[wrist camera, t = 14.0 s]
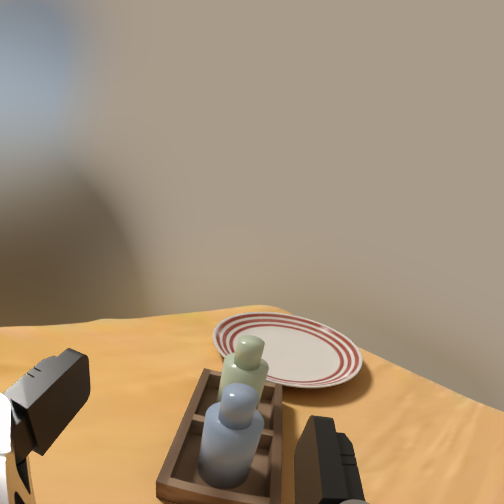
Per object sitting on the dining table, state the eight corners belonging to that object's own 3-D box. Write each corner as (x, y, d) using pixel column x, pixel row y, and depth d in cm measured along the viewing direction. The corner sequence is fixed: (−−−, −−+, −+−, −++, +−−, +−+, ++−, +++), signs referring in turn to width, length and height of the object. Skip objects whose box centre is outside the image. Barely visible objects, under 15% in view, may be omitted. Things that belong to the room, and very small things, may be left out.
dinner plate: (254, 417, 38) (260, 398, 37) (191, 325, 61) (193, 310, 60) (385, 381, 51) (391, 366, 50) (302, 321, 74) (305, 308, 74)
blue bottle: (192, 482, 24) (203, 404, 22) (202, 448, 29) (216, 370, 27) (245, 493, 24) (270, 418, 22) (249, 458, 29) (272, 382, 27)
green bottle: (211, 422, 34) (224, 347, 32) (218, 398, 39) (231, 327, 37) (253, 430, 34) (274, 357, 32) (256, 405, 39) (274, 335, 37)
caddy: (156, 497, 22) (156, 481, 21) (201, 384, 42) (204, 368, 42) (272, 521, 21) (280, 507, 21) (277, 400, 42) (282, 384, 41)
